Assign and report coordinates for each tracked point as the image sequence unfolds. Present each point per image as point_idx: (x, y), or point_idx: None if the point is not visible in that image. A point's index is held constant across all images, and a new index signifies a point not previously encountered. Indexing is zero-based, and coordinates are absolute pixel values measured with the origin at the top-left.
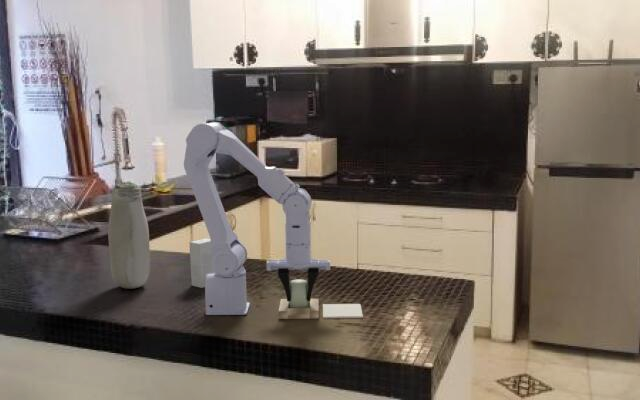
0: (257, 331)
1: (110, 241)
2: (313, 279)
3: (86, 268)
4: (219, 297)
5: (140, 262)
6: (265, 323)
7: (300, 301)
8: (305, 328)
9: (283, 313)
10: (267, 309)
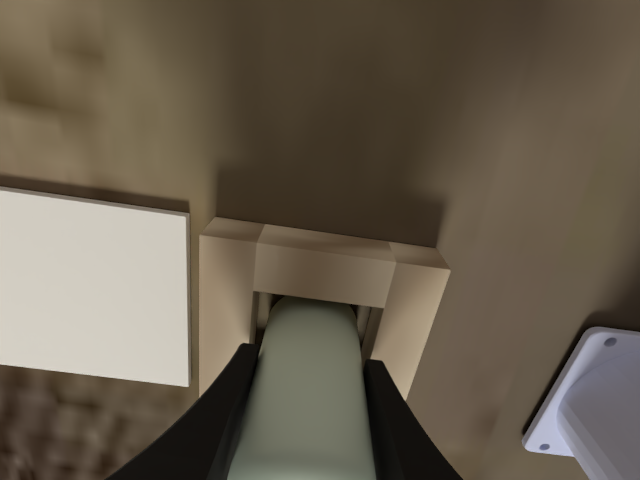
0: (630, 46)
1: None
2: (140, 476)
3: None
4: None
5: None
6: (529, 190)
7: (304, 333)
8: (307, 47)
9: (417, 258)
10: (457, 380)
